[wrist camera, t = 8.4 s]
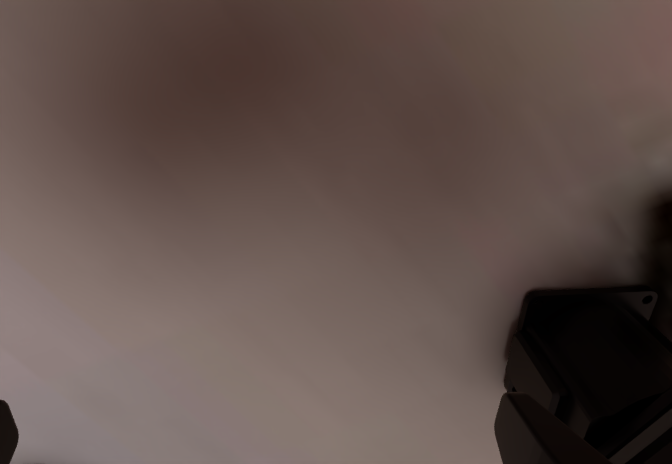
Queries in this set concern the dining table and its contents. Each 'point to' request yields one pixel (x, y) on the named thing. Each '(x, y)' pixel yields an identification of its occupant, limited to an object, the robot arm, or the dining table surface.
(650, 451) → the robot arm
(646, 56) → the dining table surface
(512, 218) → the dining table surface
